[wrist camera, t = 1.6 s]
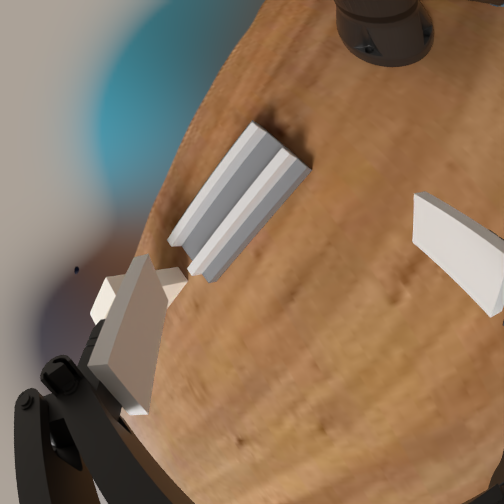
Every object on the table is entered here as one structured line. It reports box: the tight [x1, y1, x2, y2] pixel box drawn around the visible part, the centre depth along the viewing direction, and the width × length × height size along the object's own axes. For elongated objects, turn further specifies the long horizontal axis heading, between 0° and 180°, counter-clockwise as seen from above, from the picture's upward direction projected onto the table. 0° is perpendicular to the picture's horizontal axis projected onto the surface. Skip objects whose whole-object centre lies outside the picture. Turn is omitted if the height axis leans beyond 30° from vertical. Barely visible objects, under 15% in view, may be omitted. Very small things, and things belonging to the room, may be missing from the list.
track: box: [167, 120, 312, 283], centre depth 45 cm, size 24×12×4 cm, turn 137°
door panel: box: [90, 267, 188, 325], centre depth 49 cm, size 10×4×16 cm, turn 137°
